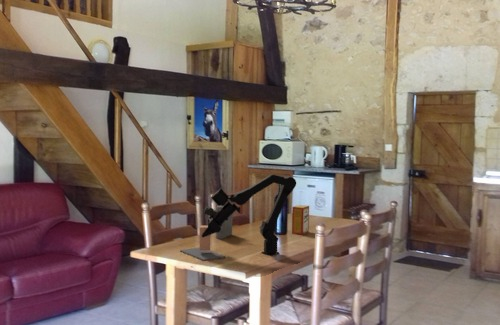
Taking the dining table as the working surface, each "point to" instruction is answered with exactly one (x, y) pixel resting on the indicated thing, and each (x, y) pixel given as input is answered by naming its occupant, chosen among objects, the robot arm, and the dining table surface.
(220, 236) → the flask
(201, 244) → the terracotta block
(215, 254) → the charcoal mat
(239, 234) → the dining table surface
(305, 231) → the baking soda box
